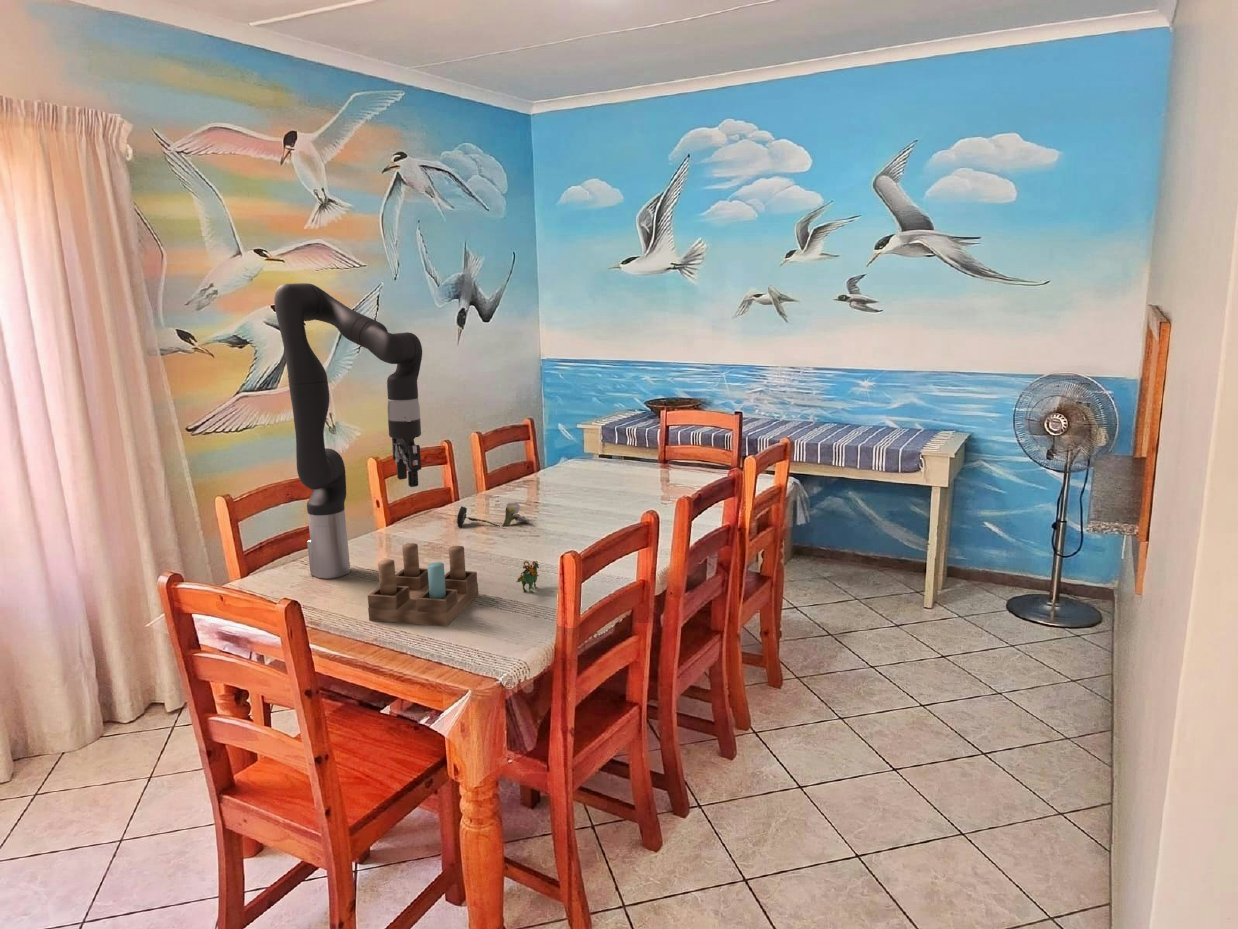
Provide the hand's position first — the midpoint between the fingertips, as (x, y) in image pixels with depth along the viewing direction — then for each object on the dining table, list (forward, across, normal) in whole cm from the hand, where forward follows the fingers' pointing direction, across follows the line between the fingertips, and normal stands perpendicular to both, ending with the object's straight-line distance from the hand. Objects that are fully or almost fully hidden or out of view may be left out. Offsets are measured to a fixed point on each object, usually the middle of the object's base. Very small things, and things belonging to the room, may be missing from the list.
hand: (407, 482), depth 199 cm
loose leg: (+24, +22, -2) cm, 33 cm away
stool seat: (+27, +14, -2) cm, 31 cm away
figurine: (+27, +19, +23) cm, 40 cm away
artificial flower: (+28, -39, +40) cm, 62 cm away
